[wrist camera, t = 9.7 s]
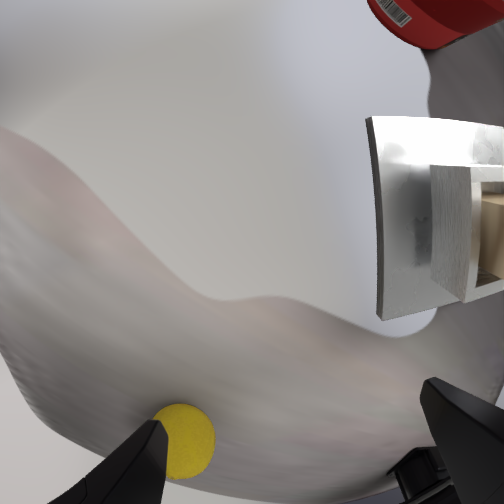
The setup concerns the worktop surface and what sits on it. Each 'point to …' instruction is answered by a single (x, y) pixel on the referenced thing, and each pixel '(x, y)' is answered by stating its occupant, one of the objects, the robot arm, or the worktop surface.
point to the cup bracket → (431, 210)
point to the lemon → (187, 440)
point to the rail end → (492, 233)
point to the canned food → (436, 19)
